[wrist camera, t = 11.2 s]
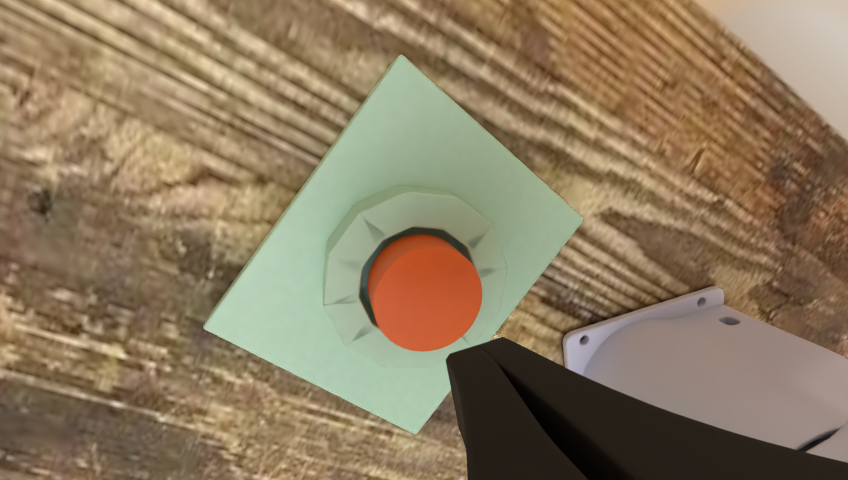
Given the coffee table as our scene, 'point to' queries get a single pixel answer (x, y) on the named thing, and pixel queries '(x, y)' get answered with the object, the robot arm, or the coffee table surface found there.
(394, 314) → the button
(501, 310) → the block
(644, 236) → the coffee table surface
